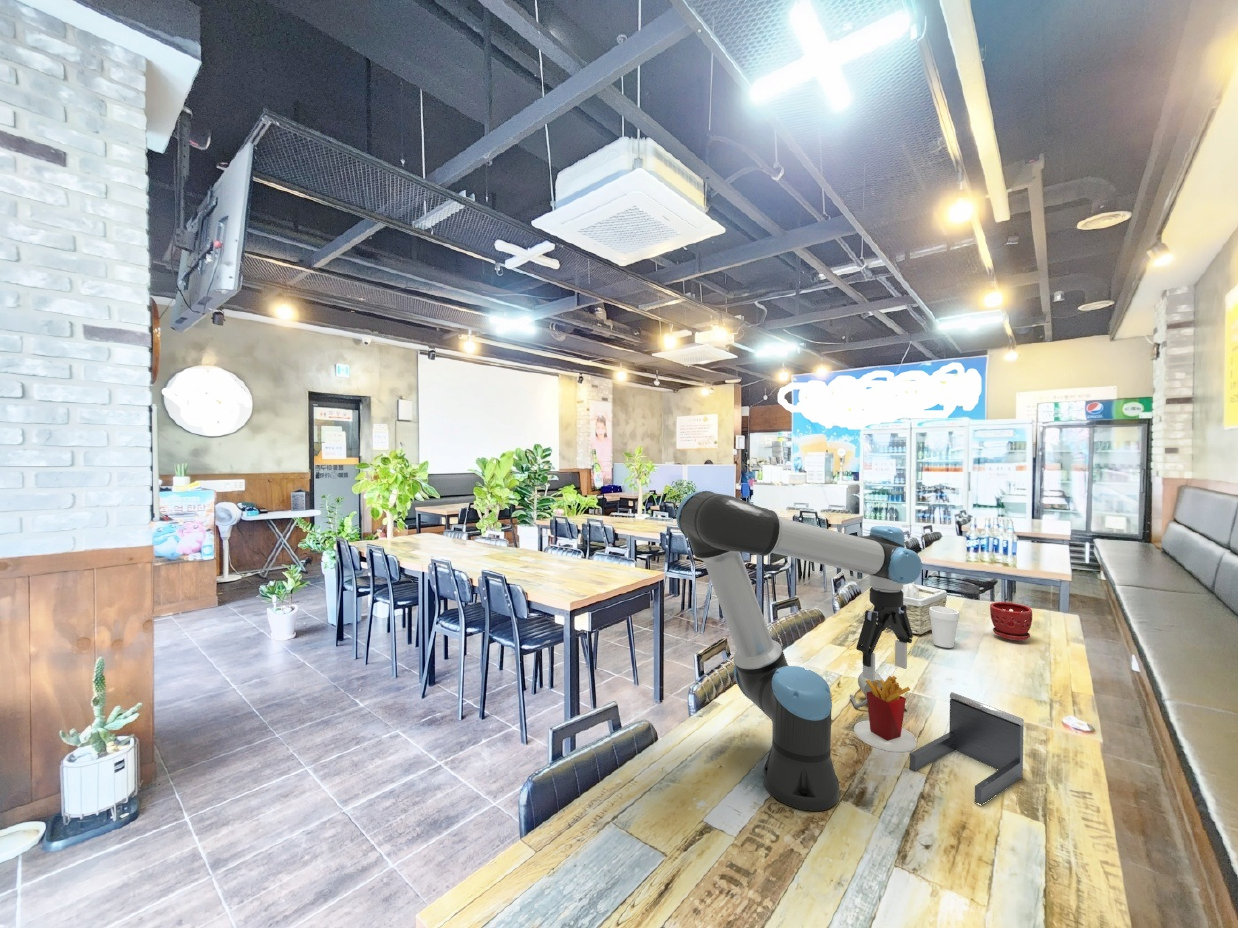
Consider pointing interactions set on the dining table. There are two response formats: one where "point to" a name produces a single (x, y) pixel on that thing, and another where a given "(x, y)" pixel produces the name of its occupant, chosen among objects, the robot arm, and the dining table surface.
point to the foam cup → (943, 625)
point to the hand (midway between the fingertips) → (885, 672)
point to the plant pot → (1011, 620)
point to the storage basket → (921, 605)
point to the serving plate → (895, 745)
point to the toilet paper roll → (865, 688)
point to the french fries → (886, 708)
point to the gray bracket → (979, 744)
